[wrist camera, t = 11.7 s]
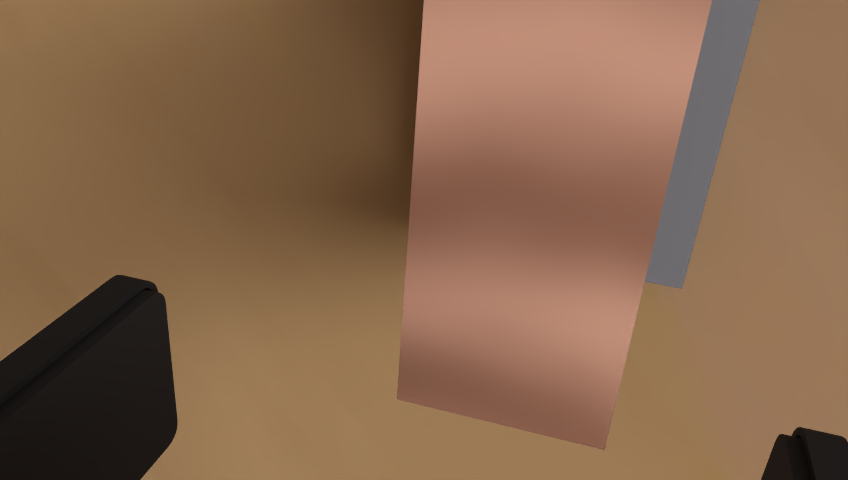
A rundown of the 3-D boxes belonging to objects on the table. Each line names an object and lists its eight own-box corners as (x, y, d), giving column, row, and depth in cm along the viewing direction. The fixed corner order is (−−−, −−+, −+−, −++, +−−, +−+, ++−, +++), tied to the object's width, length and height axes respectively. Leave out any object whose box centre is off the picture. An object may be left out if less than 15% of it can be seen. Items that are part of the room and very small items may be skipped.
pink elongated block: (475, -136, 19) (433, -134, 16) (724, -115, 18) (738, -107, 14) (433, 326, 26) (396, 398, 22) (613, 366, 24) (604, 449, 21)
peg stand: (434, 224, 35) (362, 336, 27) (467, -173, 27) (382, -185, 19) (681, 271, 32) (685, 410, 24) (792, -148, 25) (853, -150, 17)
